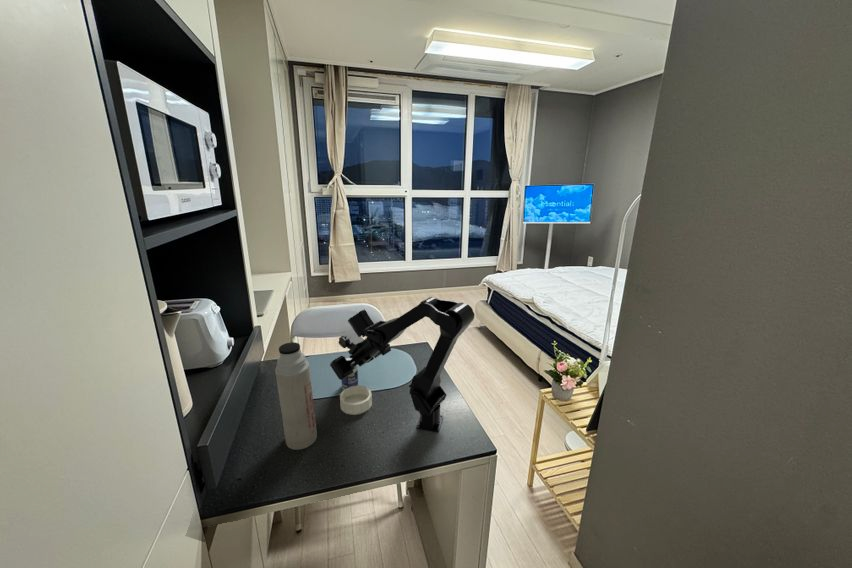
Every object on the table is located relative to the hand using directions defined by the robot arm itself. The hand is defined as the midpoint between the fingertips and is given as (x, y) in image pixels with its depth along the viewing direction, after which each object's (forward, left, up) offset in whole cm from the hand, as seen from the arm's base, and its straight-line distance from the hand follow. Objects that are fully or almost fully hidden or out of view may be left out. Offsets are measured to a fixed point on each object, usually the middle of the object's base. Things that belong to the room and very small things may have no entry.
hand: (346, 367), depth 115 cm
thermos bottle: (-25, +1, -7) cm, 26 cm away
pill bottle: (0, -1, -7) cm, 7 cm away
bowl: (-8, -7, -7) cm, 13 cm away
